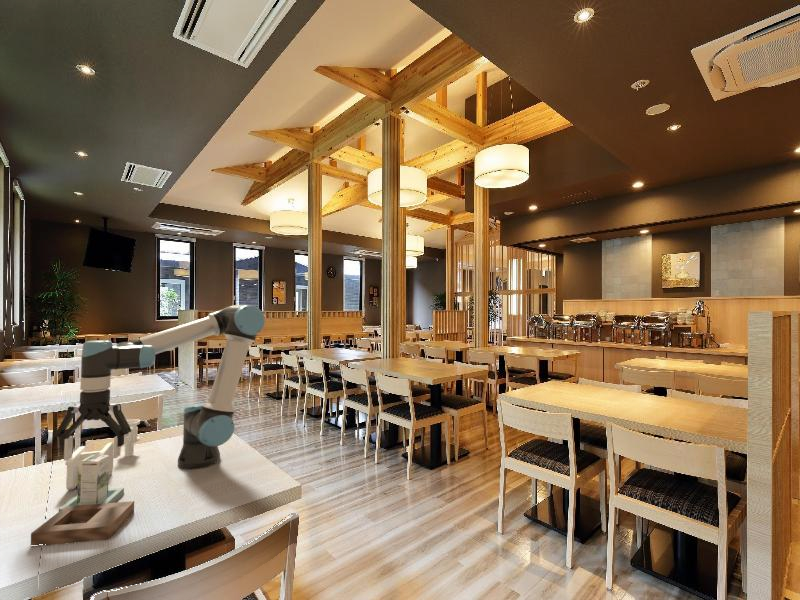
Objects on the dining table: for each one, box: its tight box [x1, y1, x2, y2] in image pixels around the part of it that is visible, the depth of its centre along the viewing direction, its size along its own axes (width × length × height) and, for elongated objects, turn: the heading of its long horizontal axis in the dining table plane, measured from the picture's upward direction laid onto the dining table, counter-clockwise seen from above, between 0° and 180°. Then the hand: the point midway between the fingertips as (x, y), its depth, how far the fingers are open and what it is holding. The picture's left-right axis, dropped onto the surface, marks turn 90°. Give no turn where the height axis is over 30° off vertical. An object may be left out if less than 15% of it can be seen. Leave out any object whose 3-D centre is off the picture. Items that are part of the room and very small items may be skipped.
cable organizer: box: [64, 441, 114, 491], centre depth 140 cm, size 15×11×12 cm
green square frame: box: [58, 487, 125, 512], centre depth 124 cm, size 12×12×2 cm
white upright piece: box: [122, 419, 141, 457], centre depth 165 cm, size 7×7×15 cm
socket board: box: [30, 500, 135, 546], centre depth 110 cm, size 18×14×4 cm
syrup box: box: [76, 455, 110, 505], centre depth 124 cm, size 6×6×14 cm
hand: (92, 458), depth 124 cm, fingers open, 13 cm apart
